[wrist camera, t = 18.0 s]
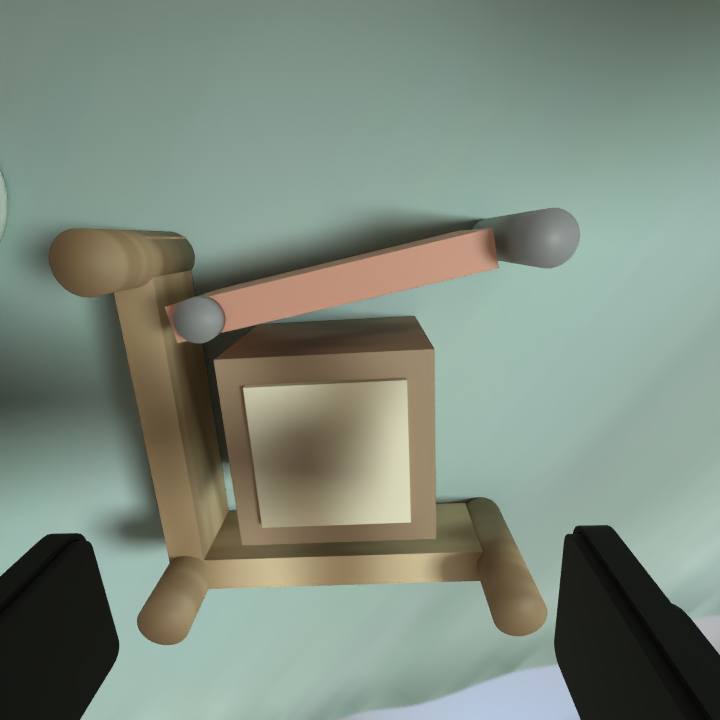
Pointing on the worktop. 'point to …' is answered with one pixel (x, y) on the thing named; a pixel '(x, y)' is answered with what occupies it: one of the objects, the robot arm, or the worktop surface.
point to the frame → (205, 475)
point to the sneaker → (3, 206)
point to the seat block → (331, 431)
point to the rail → (380, 273)
